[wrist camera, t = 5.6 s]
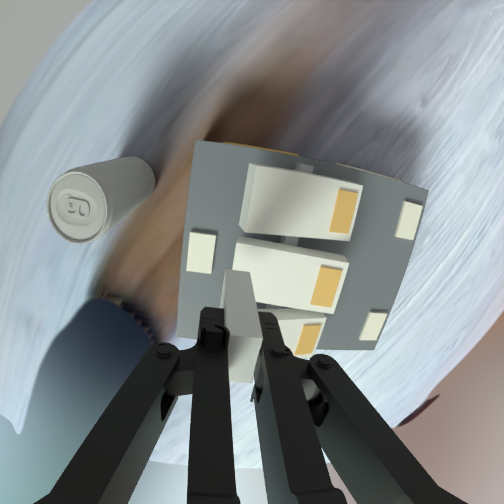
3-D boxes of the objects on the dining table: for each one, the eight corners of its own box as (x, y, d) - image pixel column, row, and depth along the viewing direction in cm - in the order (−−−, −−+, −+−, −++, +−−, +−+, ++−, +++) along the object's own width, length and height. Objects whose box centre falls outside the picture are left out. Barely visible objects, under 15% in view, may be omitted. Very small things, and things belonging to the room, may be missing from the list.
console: (184, 303, 32) (174, 346, 25) (203, 138, 26) (193, 137, 19) (354, 320, 34) (378, 358, 27) (396, 178, 28) (438, 191, 21)
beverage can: (115, 152, 26) (49, 163, 14) (161, 160, 26) (115, 175, 15) (107, 199, 27) (43, 237, 16) (151, 209, 28) (105, 254, 17)
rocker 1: (238, 224, 20) (245, 233, 19) (249, 163, 19) (256, 165, 17) (338, 234, 23) (350, 241, 21) (350, 181, 21) (364, 186, 20)
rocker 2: (230, 287, 23) (227, 297, 22) (238, 235, 22) (236, 243, 20) (329, 303, 23) (333, 315, 22) (344, 255, 22) (349, 263, 20)
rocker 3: (219, 351, 24) (223, 365, 22) (225, 309, 22) (230, 322, 21) (305, 346, 26) (313, 358, 25) (318, 307, 25) (327, 318, 23)
